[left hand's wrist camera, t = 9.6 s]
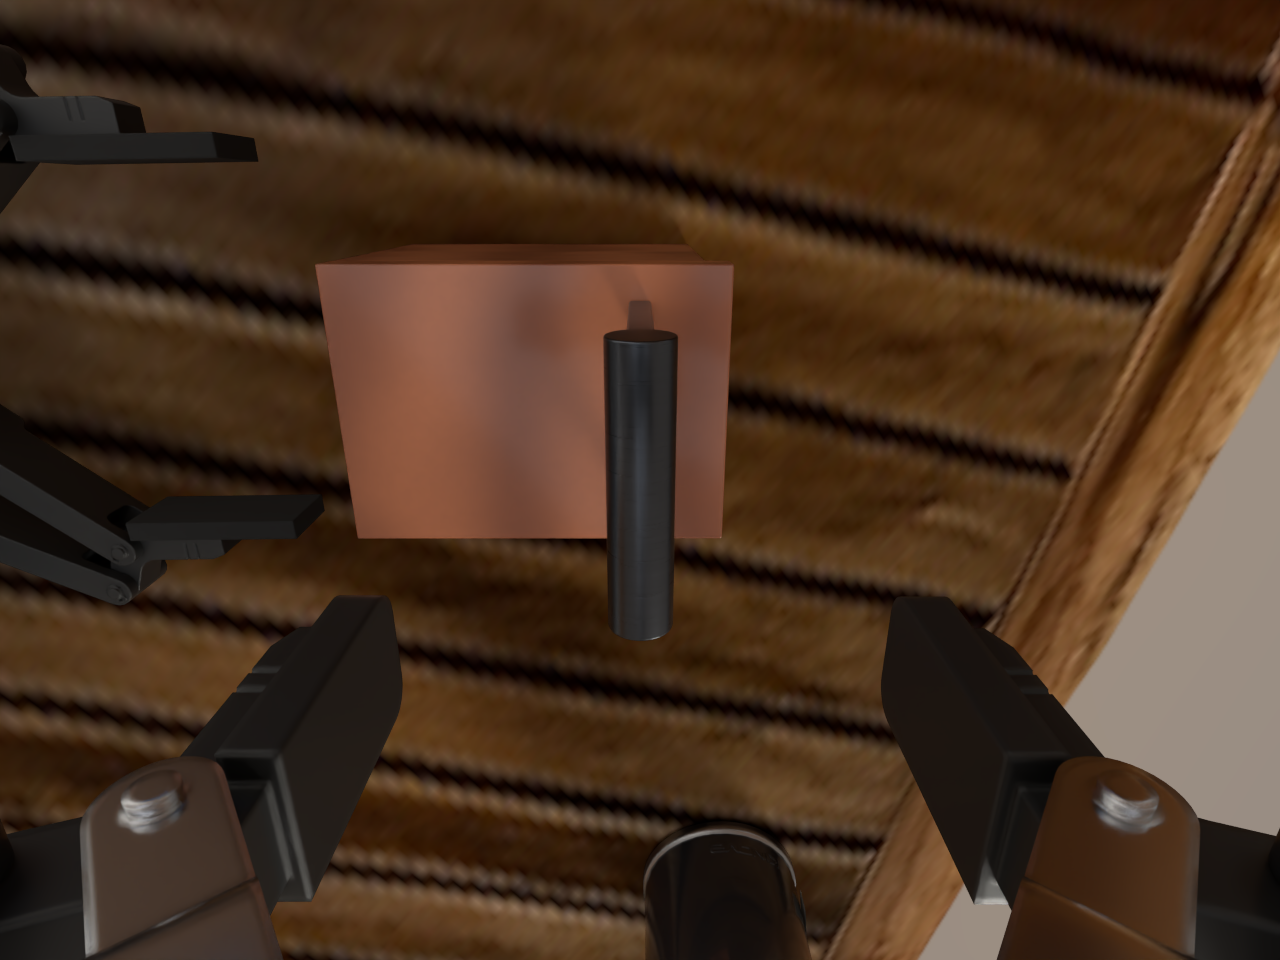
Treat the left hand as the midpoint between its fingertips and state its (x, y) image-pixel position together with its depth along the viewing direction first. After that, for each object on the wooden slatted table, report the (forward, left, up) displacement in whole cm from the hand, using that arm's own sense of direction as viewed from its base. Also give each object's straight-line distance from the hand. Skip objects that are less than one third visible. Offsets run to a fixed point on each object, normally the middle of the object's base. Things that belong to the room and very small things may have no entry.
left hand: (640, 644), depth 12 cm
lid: (-1, +3, -15) cm, 15 cm away
